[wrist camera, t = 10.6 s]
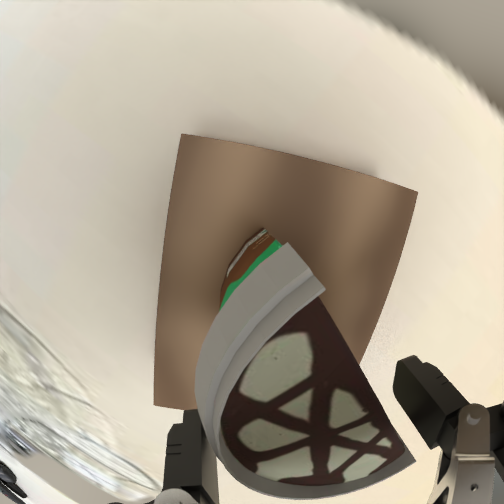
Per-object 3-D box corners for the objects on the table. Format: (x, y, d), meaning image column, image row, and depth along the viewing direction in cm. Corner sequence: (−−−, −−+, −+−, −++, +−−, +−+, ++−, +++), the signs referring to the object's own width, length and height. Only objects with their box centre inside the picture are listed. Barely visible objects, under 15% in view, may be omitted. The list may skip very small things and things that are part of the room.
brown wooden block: (163, 357, 25) (153, 405, 19) (191, 140, 20) (181, 133, 14) (314, 372, 27) (333, 416, 21) (373, 181, 22) (418, 191, 16)
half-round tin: (152, 269, 16) (97, 398, 6) (247, 203, 16) (313, 266, 6) (269, 402, 20) (306, 523, 10) (344, 357, 19) (418, 464, 10)
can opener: (-19, 449, 29) (-28, 467, 23) (7, 462, 30) (-2, 482, 24) (13, 490, 34) (7, 506, 28) (37, 500, 35) (32, 518, 29)
